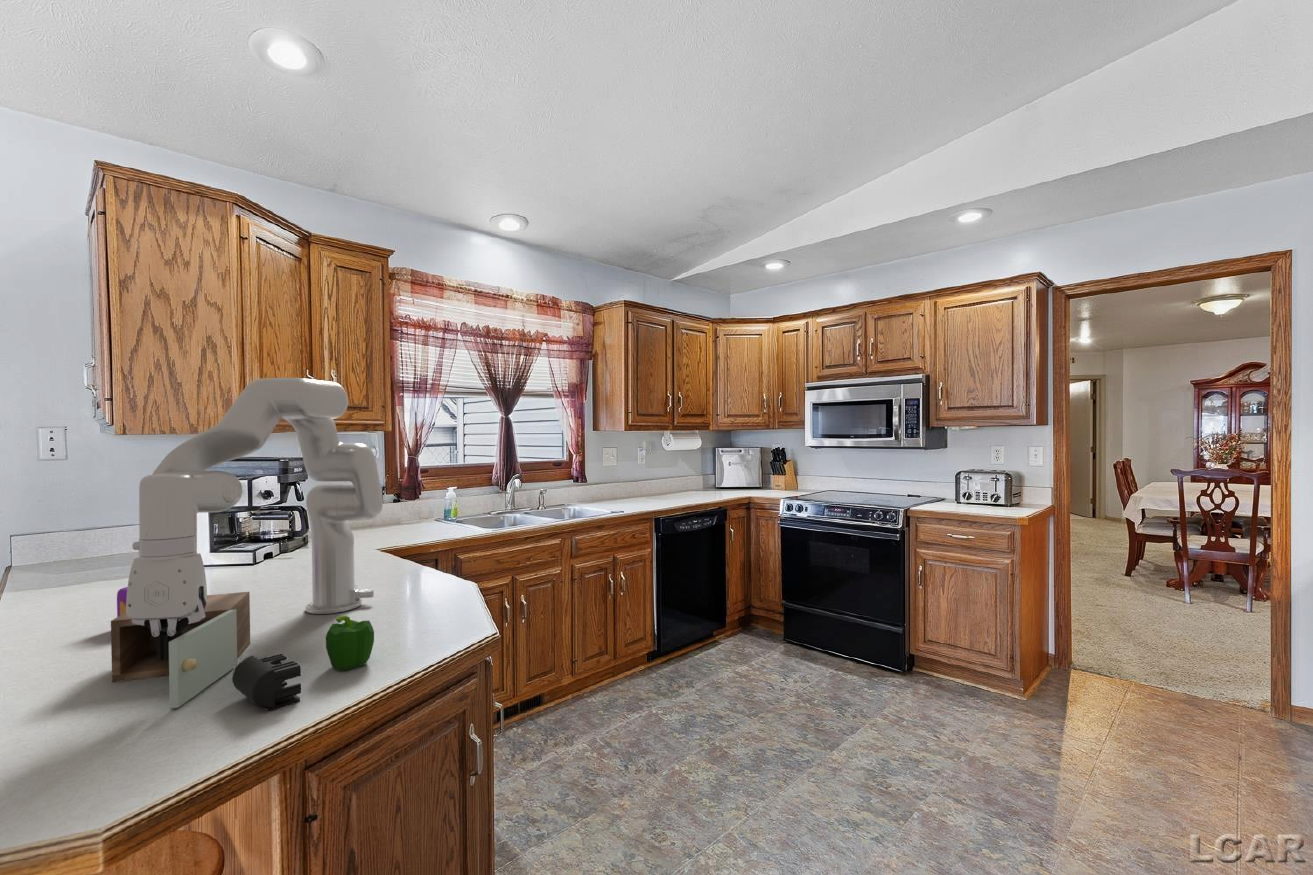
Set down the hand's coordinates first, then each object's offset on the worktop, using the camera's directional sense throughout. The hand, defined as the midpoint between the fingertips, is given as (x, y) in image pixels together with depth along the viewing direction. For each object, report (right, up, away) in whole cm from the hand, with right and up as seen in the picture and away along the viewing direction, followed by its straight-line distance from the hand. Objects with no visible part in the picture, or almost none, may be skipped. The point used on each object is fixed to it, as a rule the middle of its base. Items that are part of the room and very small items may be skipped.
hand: (169, 657), depth 101 cm
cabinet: (-10, -7, +17) cm, 21 cm away
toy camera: (-35, -7, +40) cm, 54 cm away
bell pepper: (+23, -7, +14) cm, 28 cm away
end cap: (+17, -7, -1) cm, 18 cm away
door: (+3, -7, +5) cm, 9 cm away
